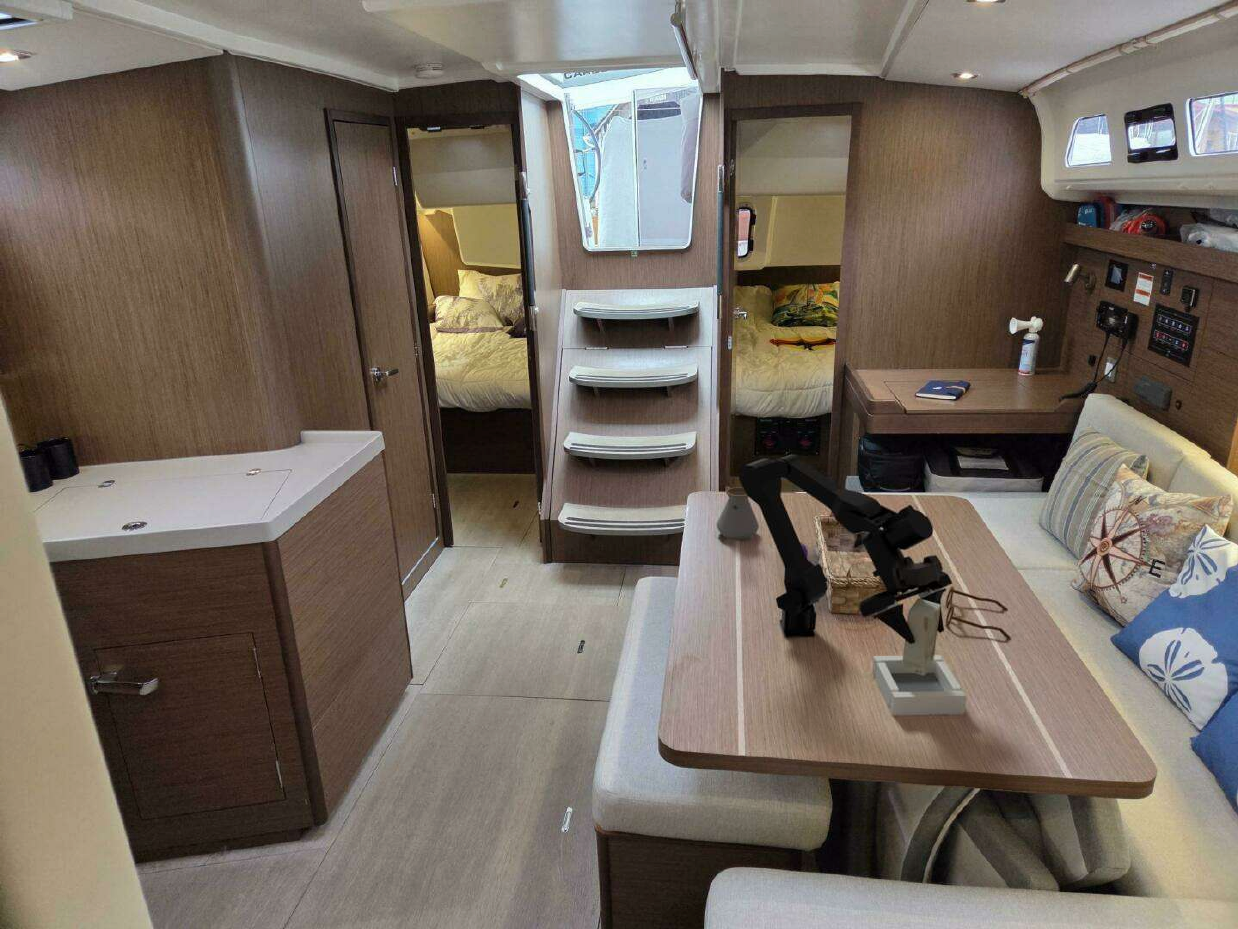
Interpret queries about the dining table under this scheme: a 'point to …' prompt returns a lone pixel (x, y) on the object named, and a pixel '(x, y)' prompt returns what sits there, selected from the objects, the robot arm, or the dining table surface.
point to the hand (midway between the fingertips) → (927, 637)
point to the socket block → (918, 688)
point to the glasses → (966, 620)
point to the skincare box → (921, 636)
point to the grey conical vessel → (737, 516)
